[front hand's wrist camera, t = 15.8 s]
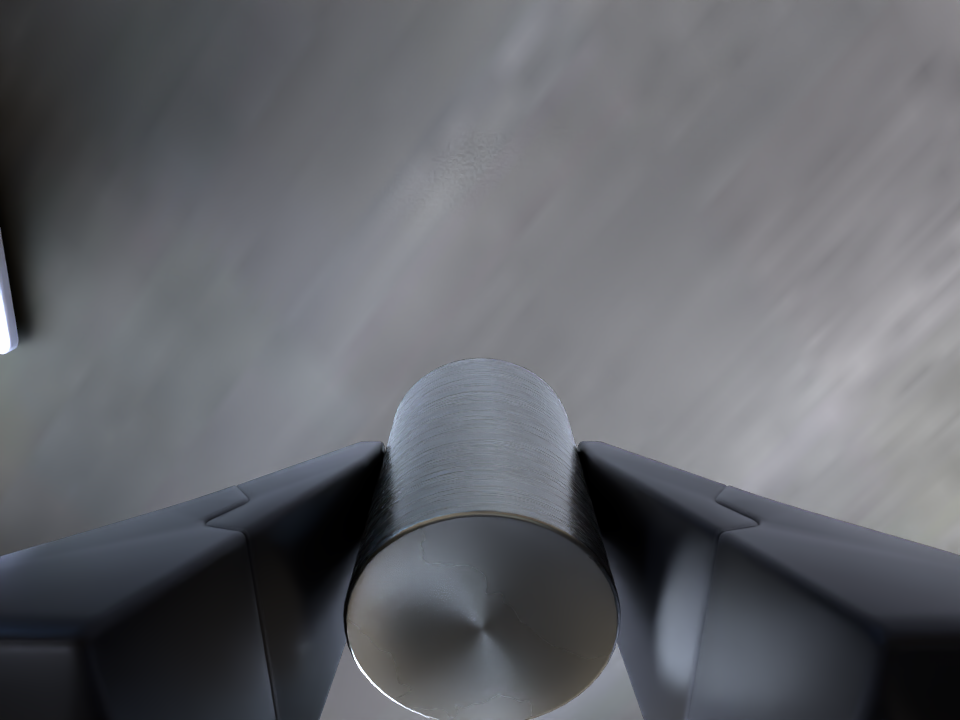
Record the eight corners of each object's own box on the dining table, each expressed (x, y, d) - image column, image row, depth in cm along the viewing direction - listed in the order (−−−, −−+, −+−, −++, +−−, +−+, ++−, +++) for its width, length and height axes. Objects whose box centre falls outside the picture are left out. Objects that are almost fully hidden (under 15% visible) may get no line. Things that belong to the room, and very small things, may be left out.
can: (596, 476, 13) (660, 678, 8) (441, 536, 13) (421, 758, 9) (527, 327, 12) (558, 468, 7) (359, 400, 12) (289, 575, 8)
